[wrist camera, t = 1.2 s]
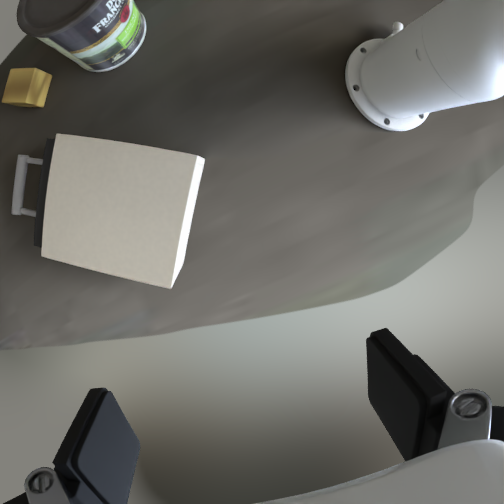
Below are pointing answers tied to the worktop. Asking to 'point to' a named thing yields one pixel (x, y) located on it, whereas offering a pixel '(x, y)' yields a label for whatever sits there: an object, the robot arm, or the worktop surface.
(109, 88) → the worktop surface
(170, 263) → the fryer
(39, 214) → the dark grey storage bin
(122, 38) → the coffee can
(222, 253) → the worktop surface
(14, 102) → the cube
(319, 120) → the worktop surface
